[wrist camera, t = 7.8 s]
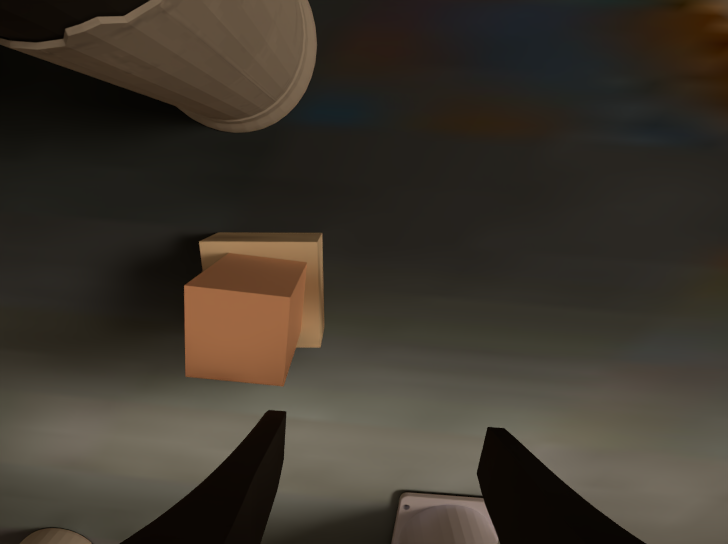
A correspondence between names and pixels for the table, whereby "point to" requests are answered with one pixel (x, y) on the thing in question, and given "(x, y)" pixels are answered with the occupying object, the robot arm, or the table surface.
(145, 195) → the table surface
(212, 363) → the painted block
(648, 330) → the table surface
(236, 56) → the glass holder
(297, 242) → the birch base
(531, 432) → the table surface
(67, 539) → the coffee cup
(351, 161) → the table surface
